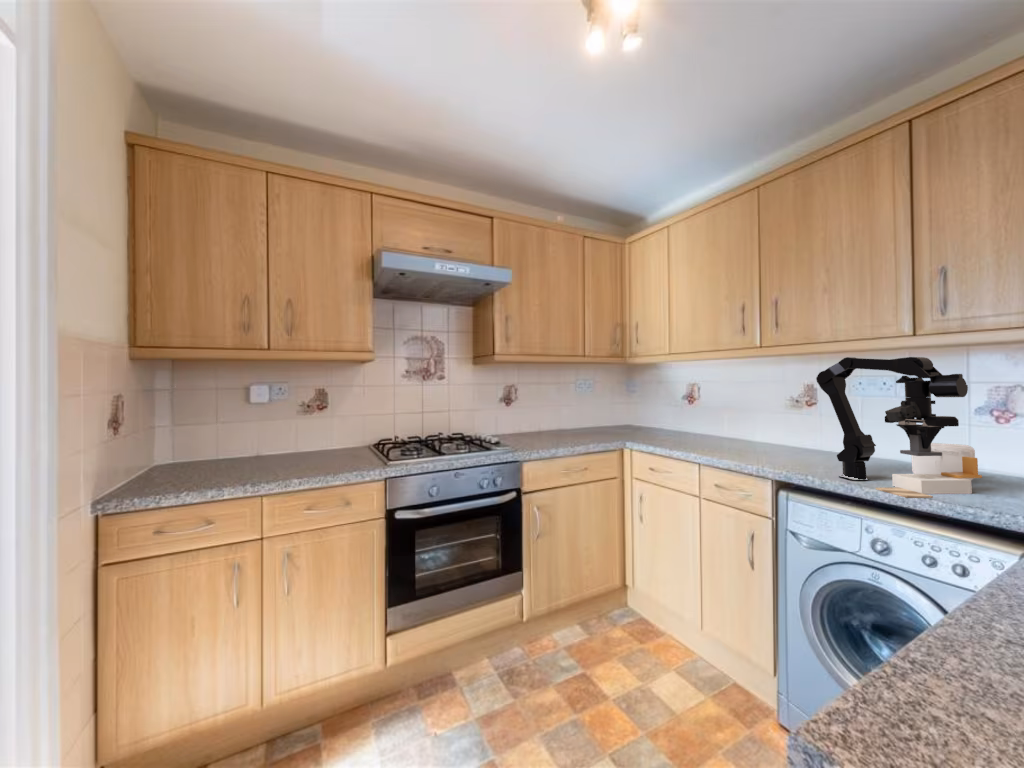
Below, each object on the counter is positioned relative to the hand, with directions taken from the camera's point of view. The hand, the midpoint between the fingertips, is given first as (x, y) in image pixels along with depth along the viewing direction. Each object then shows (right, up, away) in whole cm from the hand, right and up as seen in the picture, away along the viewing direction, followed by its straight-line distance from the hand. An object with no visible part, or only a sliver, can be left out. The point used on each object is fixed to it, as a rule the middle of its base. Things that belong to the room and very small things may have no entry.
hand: (920, 447), depth 128 cm
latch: (+12, -9, -1) cm, 15 cm away
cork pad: (-9, -13, -4) cm, 16 cm away
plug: (0, -2, 0) cm, 2 cm away
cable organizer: (+24, -13, +15) cm, 31 cm away
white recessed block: (+3, -13, 0) cm, 13 cm away
